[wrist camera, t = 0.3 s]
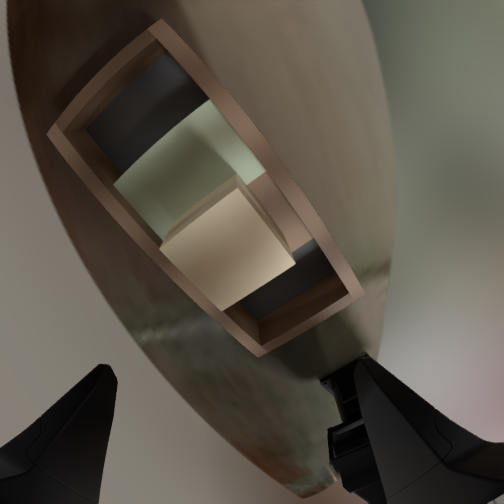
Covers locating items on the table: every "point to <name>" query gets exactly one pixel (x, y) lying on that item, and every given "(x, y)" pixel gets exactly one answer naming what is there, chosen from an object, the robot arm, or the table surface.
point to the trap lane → (197, 179)
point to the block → (227, 244)
